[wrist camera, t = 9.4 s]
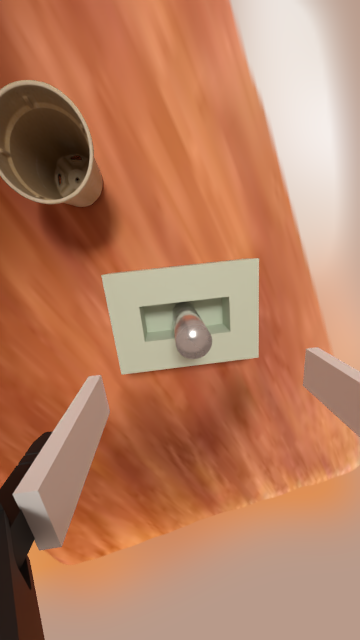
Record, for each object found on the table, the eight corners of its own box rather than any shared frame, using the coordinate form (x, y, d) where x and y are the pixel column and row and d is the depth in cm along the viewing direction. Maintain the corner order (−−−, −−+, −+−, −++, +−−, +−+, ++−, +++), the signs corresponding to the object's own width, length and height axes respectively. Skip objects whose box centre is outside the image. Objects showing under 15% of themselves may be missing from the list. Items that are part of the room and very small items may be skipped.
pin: (171, 302, 31) (173, 327, 20) (194, 300, 31) (211, 322, 20) (173, 325, 32) (177, 361, 21) (196, 322, 32) (213, 356, 21)
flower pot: (64, 231, 28) (23, 219, 20) (25, 156, 26) (-41, 106, 17) (127, 204, 28) (110, 180, 20) (93, 125, 25) (58, 59, 17)
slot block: (111, 273, 30) (101, 275, 25) (244, 258, 31) (258, 258, 26) (127, 358, 34) (121, 374, 29) (245, 344, 35) (258, 357, 30)
